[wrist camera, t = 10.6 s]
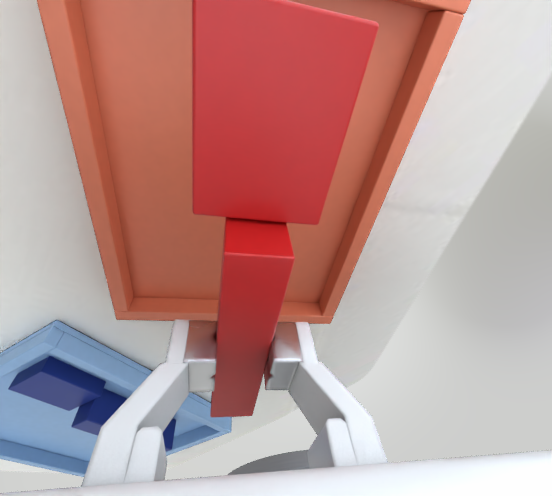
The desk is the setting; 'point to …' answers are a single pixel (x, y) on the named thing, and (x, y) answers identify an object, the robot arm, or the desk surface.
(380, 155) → the red tray
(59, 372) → the navy stepped bar
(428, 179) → the desk surface
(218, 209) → the red stepped bar
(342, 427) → the robot arm
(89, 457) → the blue tray
